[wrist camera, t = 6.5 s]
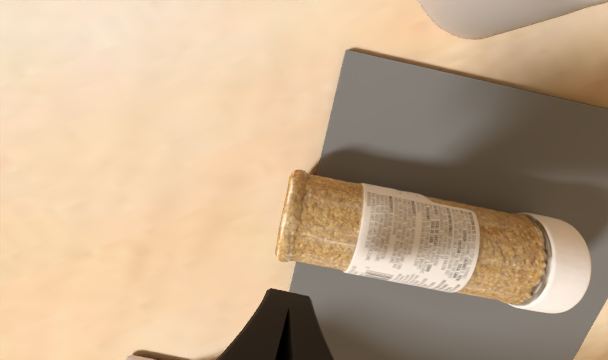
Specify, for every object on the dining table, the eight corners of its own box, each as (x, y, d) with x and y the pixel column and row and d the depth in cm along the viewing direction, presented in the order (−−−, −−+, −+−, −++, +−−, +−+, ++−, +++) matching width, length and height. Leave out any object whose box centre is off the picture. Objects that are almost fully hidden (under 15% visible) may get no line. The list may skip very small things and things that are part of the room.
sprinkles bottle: (288, 192, 19) (515, 235, 19) (272, 271, 17) (528, 319, 17) (294, 148, 15) (582, 204, 15) (274, 245, 12) (611, 309, 13)
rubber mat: (544, 397, 21) (548, 402, 21) (277, 343, 21) (276, 347, 20) (692, 129, 16) (701, 130, 16) (345, 50, 16) (346, 49, 15)
